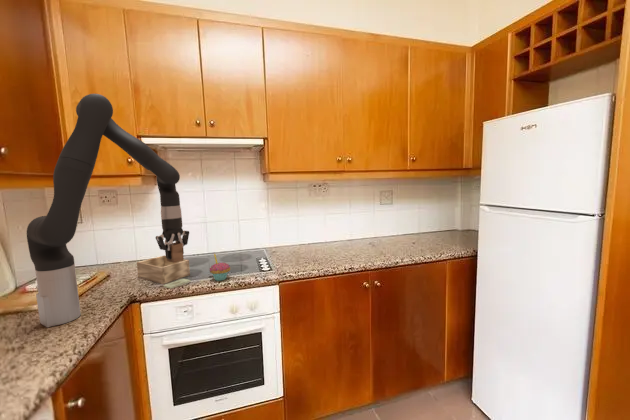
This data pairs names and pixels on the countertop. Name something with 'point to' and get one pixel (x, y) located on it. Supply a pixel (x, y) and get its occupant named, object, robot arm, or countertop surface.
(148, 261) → the crate
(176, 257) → the walnut block
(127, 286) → the countertop surface
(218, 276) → the cupcake
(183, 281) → the mat
